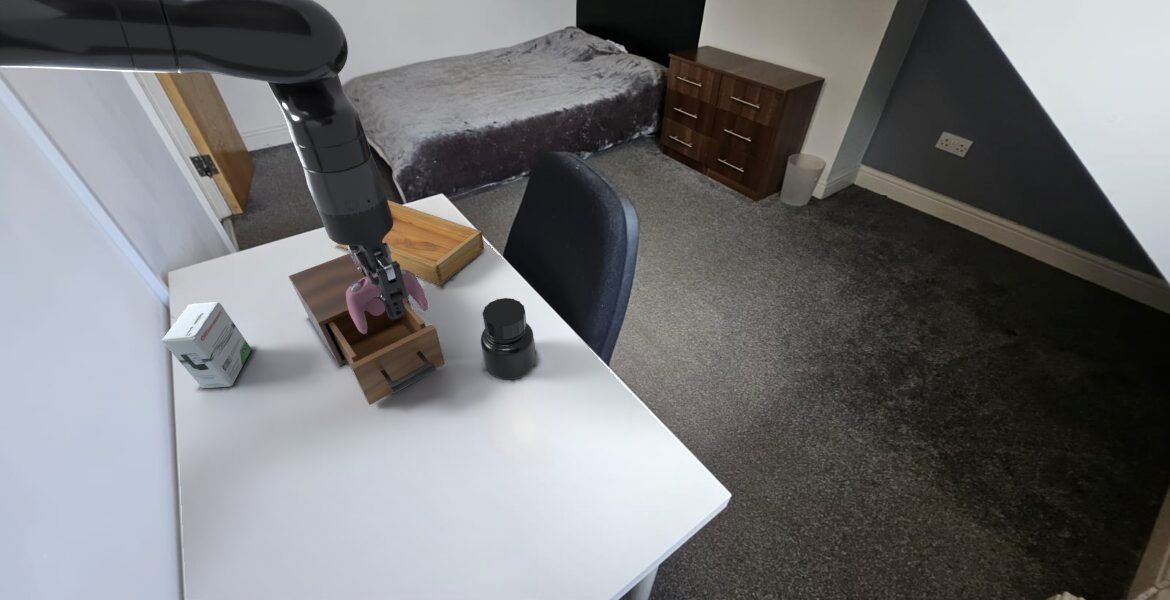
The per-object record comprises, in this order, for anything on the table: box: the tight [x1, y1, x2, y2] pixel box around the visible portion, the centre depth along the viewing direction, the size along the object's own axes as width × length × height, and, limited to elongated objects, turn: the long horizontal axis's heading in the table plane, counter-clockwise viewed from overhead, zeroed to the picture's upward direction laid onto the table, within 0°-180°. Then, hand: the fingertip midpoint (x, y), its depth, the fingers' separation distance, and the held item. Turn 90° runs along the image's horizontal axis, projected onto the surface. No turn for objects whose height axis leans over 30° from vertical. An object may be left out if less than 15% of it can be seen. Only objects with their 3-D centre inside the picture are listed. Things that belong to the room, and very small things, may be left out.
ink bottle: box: [480, 297, 536, 380], centre depth 79 cm, size 10×9×12 cm
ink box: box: [161, 301, 252, 389], centre depth 77 cm, size 9×5×12 cm, turn 6°
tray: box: [336, 199, 485, 286], centre depth 106 cm, size 31×15×6 cm, turn 62°
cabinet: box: [288, 253, 412, 367], centre depth 86 cm, size 16×15×11 cm
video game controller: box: [346, 270, 429, 334], centre depth 65 cm, size 10×5×7 cm, turn 124°
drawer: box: [327, 299, 446, 406], centre depth 78 cm, size 19×13×9 cm
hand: (387, 303), depth 65 cm, fingers closed on video game controller, 6 cm apart
